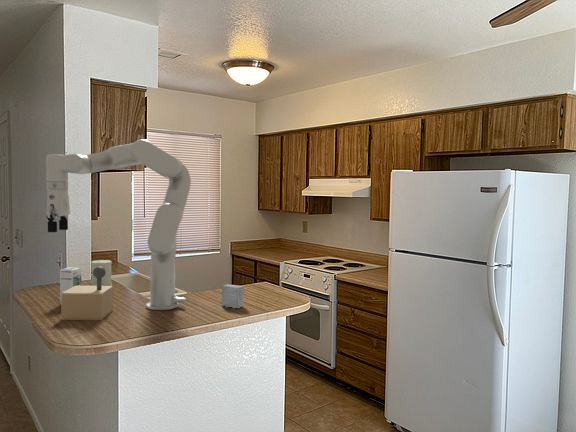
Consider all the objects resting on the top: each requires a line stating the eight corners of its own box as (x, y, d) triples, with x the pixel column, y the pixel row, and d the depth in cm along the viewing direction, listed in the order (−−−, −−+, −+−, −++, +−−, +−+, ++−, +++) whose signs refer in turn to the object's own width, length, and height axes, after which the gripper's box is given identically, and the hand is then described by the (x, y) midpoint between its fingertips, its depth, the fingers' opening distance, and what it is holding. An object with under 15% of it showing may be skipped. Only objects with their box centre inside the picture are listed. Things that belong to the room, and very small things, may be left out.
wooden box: (112, 310, 183) (112, 287, 183) (101, 320, 170) (101, 295, 170) (75, 310, 182) (75, 287, 182) (61, 319, 169) (61, 294, 169)
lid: (112, 287, 183) (112, 263, 182) (101, 295, 170) (101, 269, 169) (75, 287, 182) (75, 263, 181) (61, 294, 169) (61, 268, 168)
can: (87, 286, 225) (87, 261, 224) (98, 282, 234) (98, 258, 233) (105, 287, 223) (105, 262, 222) (115, 284, 232) (115, 259, 231)
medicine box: (243, 307, 194) (244, 286, 194) (238, 309, 190) (238, 288, 190) (227, 304, 198) (227, 284, 197) (221, 306, 194) (221, 285, 193)
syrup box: (72, 306, 188) (72, 269, 188) (59, 304, 190) (59, 268, 189) (81, 302, 194) (82, 267, 193) (69, 301, 195) (69, 266, 194)
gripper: (57, 186, 175) (58, 233, 176) (76, 186, 192) (77, 229, 193) (36, 186, 174) (37, 233, 175) (57, 186, 191) (58, 228, 192)
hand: (58, 230), depth 184 cm, fingers open, 9 cm apart
